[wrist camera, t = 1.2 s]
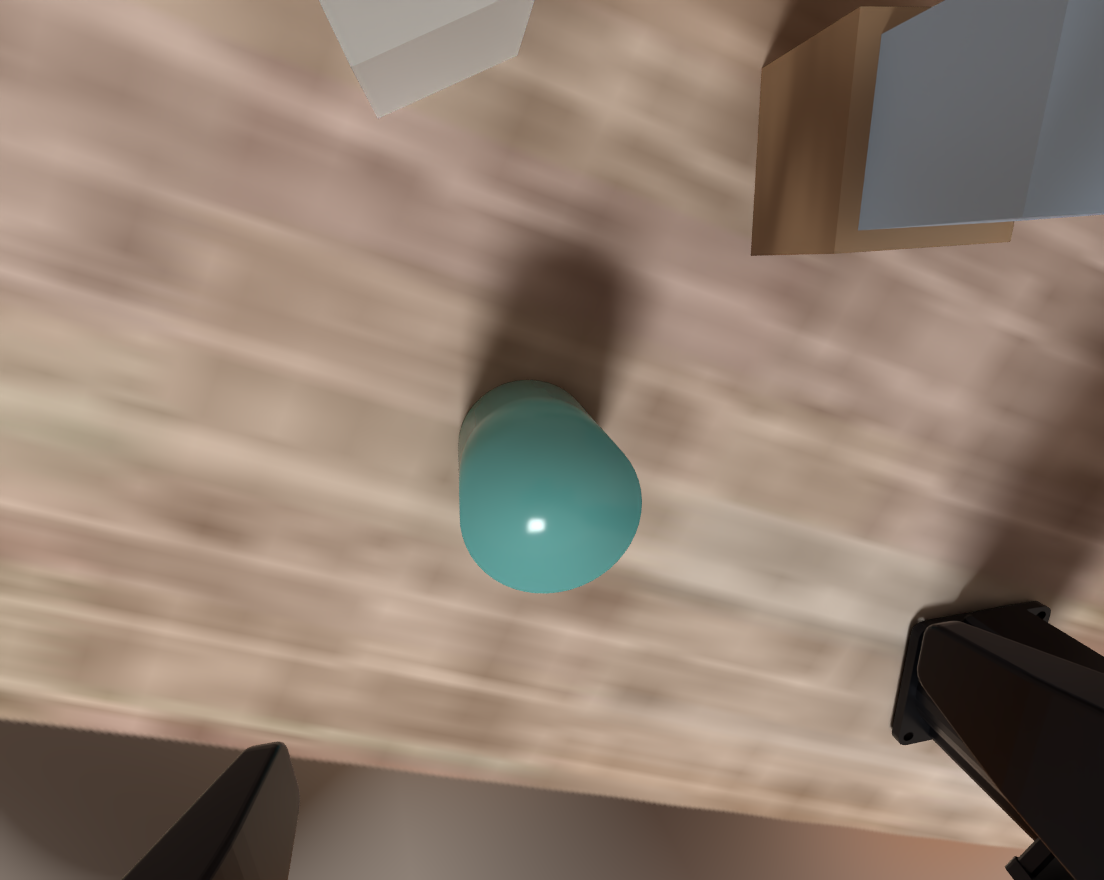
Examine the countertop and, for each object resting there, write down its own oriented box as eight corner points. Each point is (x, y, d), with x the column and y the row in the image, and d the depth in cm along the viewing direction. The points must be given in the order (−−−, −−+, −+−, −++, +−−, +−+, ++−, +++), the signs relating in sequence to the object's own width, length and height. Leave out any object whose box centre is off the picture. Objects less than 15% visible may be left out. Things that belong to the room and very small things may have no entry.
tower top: (999, 222, 14) (1209, 206, 10) (857, 230, 13) (1022, 217, 9) (1037, 34, 12) (1294, -67, 8) (881, 34, 12) (1083, -74, 8)
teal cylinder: (594, 499, 18) (642, 579, 14) (466, 515, 18) (470, 605, 13) (589, 373, 17) (641, 415, 12) (450, 386, 16) (448, 436, 12)
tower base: (891, 246, 17) (1010, 241, 14) (749, 255, 17) (833, 253, 13) (916, 67, 16) (1058, 7, 12) (760, 69, 15) (860, 5, 11)
